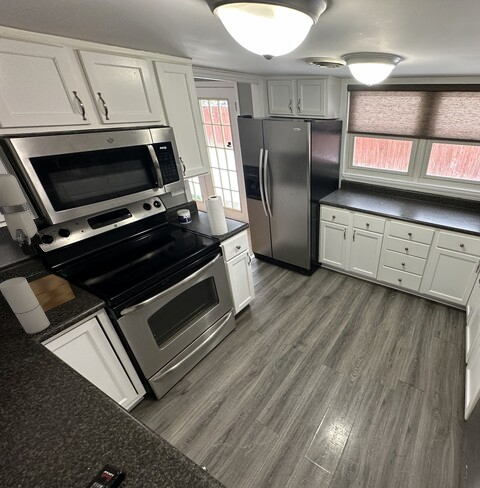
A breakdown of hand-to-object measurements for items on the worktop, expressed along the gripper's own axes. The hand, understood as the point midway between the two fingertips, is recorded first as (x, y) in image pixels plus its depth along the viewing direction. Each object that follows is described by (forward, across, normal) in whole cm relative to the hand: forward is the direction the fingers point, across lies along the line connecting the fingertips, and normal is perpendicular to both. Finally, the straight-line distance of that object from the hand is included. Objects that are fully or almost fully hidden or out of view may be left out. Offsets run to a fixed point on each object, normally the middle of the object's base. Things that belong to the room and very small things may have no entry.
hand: (34, 249), depth 105 cm
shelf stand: (+35, -18, -9) cm, 40 cm away
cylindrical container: (+35, +6, -8) cm, 36 cm away
